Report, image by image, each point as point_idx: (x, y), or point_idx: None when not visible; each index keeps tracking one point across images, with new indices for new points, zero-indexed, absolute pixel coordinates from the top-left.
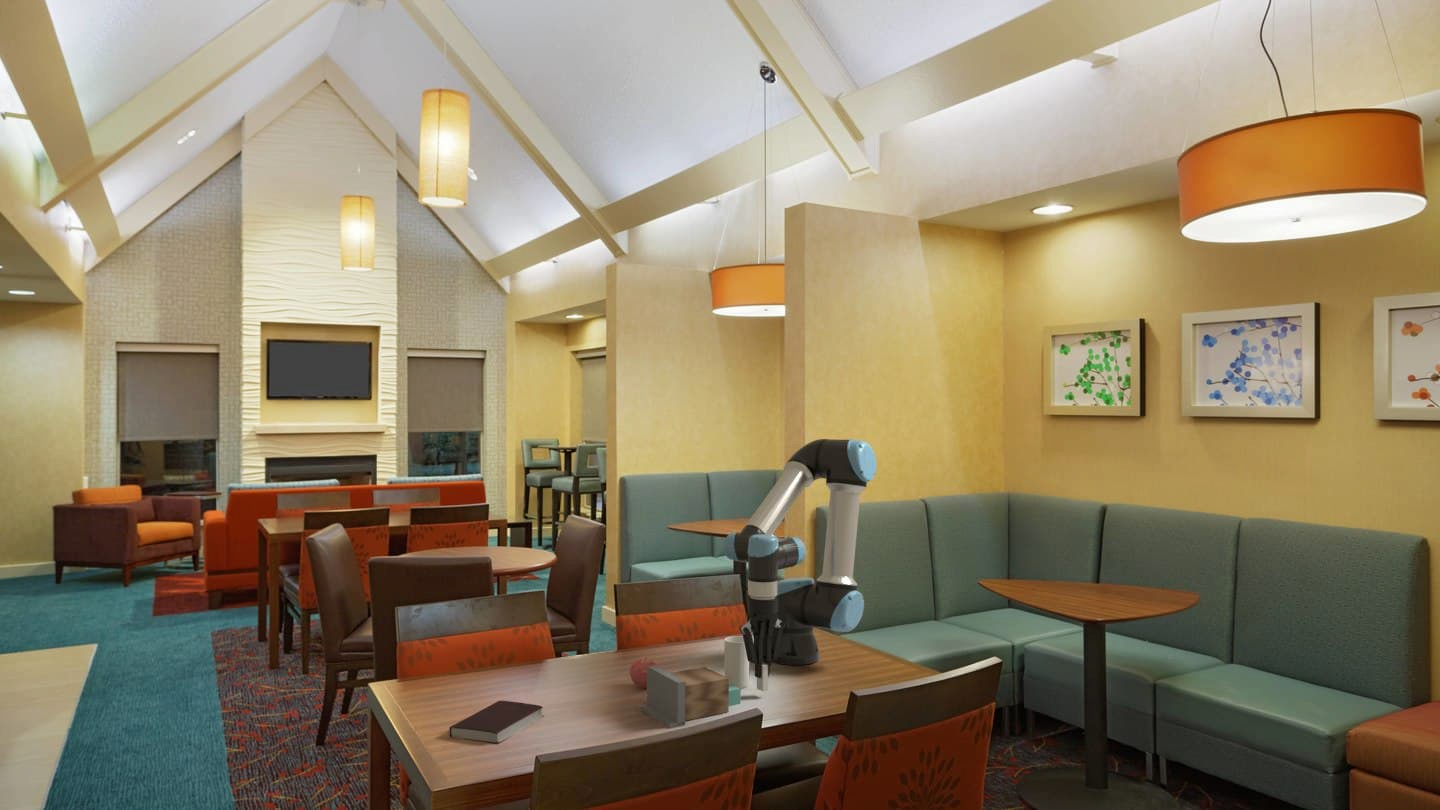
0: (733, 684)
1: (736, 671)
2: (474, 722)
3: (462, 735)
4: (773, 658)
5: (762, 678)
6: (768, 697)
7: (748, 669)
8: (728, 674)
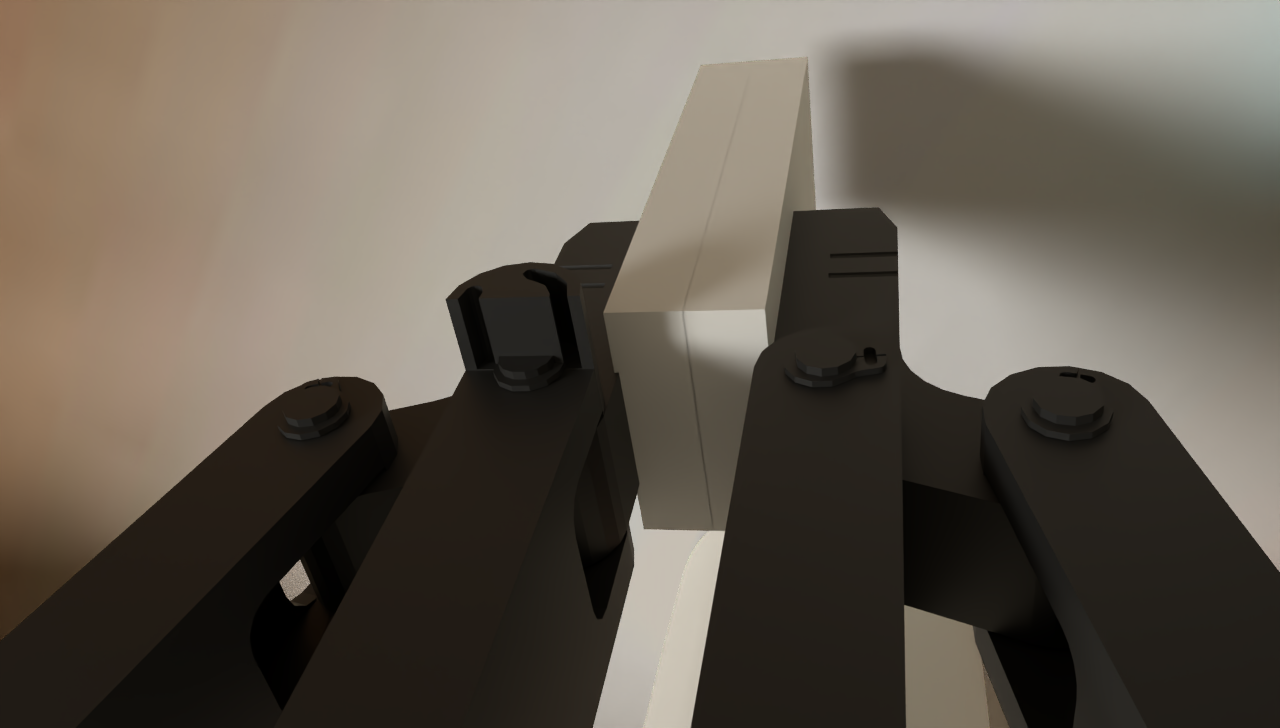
0: None
1: (913, 695)
2: None
3: None
4: (367, 412)
5: (794, 169)
6: (699, 27)
7: (686, 682)
8: (987, 717)
